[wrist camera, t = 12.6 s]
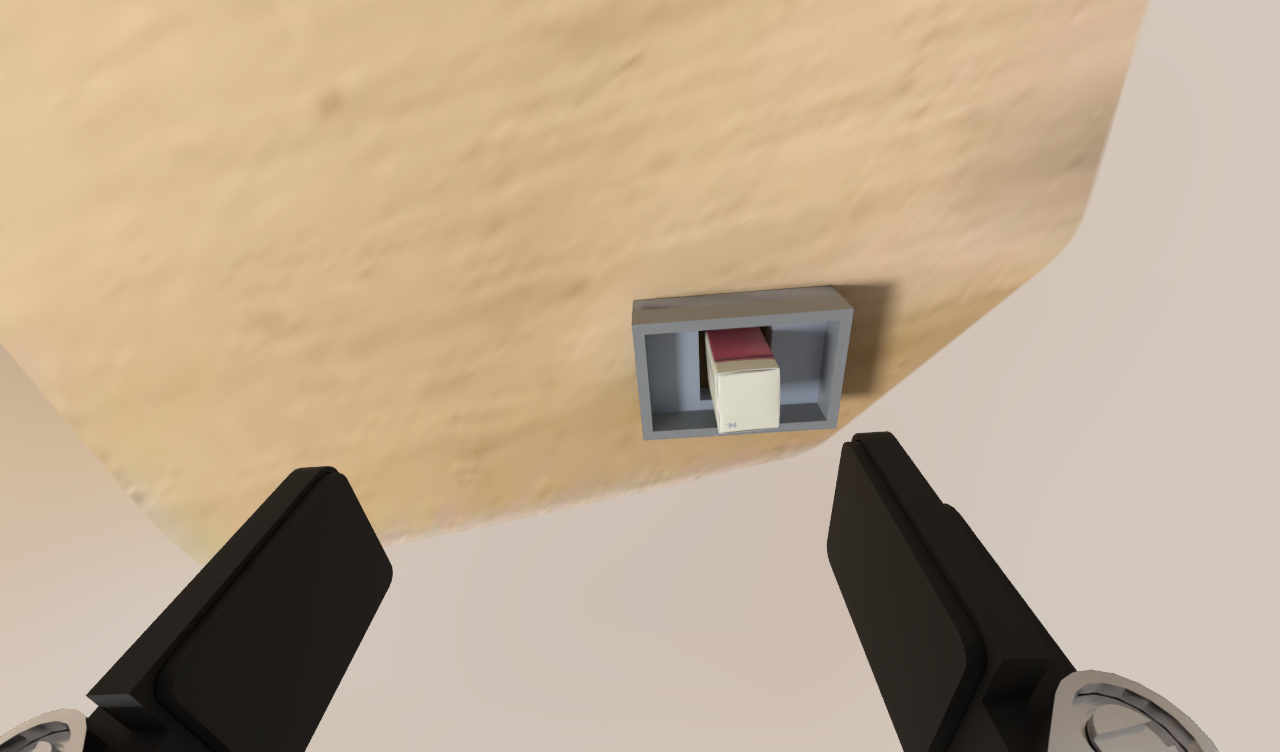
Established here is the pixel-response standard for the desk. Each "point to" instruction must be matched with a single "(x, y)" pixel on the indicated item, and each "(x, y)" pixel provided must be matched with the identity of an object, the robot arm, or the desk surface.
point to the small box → (742, 379)
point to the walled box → (794, 318)
